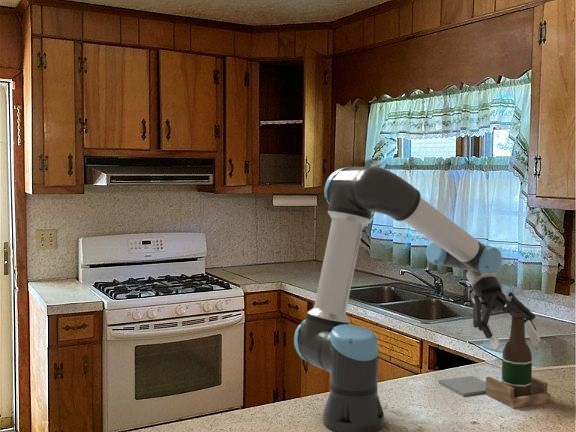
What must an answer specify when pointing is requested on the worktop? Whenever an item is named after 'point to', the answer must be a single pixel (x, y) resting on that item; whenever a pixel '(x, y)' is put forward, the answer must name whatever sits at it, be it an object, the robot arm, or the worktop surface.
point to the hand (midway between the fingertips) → (518, 345)
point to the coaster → (465, 385)
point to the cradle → (506, 397)
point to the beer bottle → (517, 358)
